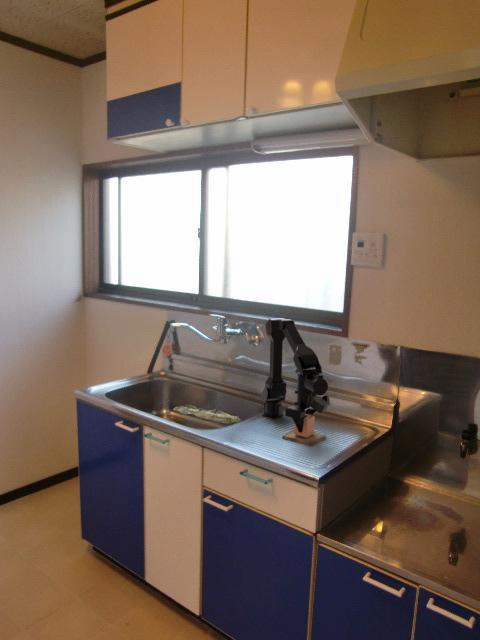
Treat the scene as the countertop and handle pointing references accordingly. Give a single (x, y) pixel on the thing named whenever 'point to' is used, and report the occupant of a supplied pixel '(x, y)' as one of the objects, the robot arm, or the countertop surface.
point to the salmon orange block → (306, 426)
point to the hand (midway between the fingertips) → (304, 430)
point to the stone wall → (207, 414)
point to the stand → (304, 438)
